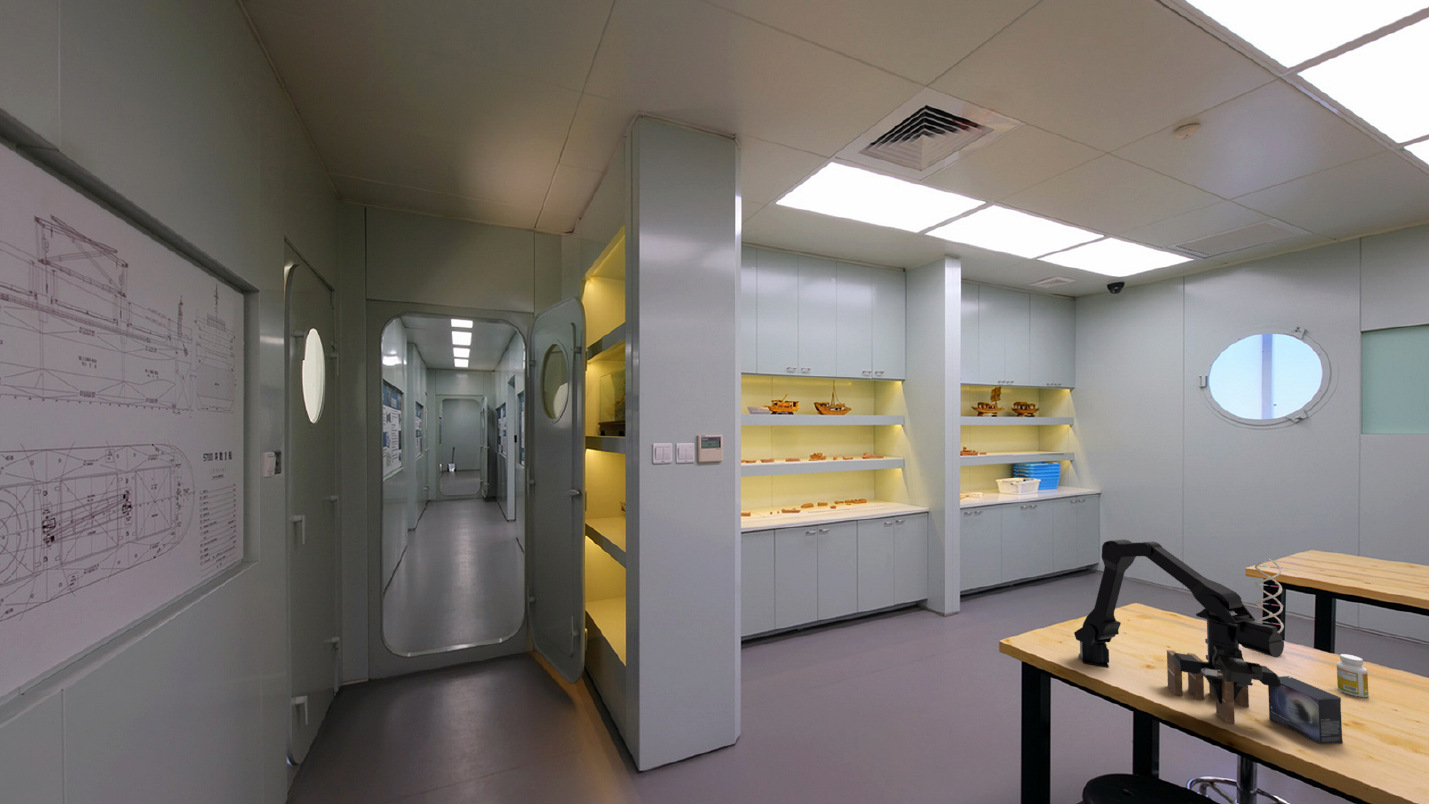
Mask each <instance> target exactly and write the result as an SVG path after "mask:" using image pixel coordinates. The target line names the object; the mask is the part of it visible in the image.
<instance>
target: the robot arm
mask: <svg viewBox="0 0 1429 804" xmlns="http://www.w3.org/2000/svg"><path fill="white" fill-rule="evenodd" d="M1137 557H1146V558H1147V559H1148V560H1150V561H1151V562H1153V563H1154V564H1155V565H1156V566H1158V567H1159V568H1160V569H1162V571H1163V570H1164V572H1166V573H1167V574H1168V575H1170V576H1171V577H1172V578H1174V579H1175V580H1176V581H1178V582H1179V583H1180V584H1182V586H1185V587H1186V588H1187V589H1188V590H1189V592H1190V593H1191V594H1192V596H1193V598H1194V599H1195V600H1196V601H1197V602H1198V604H1200V605H1201V606H1202V607H1203V609H1202V610H1201V611H1199V612H1197V613H1195V616H1196V617H1198V618H1202V619H1205V620H1206V638H1205V640H1204V641H1205V644H1206V645H1207V646H1206V647H1207V654H1206V655H1205V660H1207V661H1204V660H1202V661H1198V660H1197V659H1195V658H1194V657H1193V656H1192V655H1187V654H1185V653H1180V652H1179V653H1178V652H1176V653H1175V654H1174V655H1173V656H1172V660H1173V663H1174V664H1175V665H1176V666H1177V667H1178V668H1179V669H1180V671H1182V673H1183V672H1184V673H1187V674H1188V673H1193V674H1198V673H1201V674H1202V675H1203V677H1204V678H1205V679H1206V680H1207V683H1208V685H1209V684H1210V686H1211V688H1212V690H1213V693H1214V695H1215V697H1216V699H1217V701H1218V702H1219V703H1220V704H1222V694H1221V686H1220V683H1221V681H1222V679H1221V678H1220V677H1218V672H1221V673H1222V675H1223V677H1224V679H1226V680H1227V681H1229V682H1233V686H1234V702H1236V701H1235V699H1236V697H1237V695H1238V693H1239V692H1240V690H1241V689H1242V688H1243V687H1245V686H1247V685H1248V687H1249V686H1250V687H1251V686H1253V684H1254V683H1253V682H1252V681H1253V680H1254V681H1259V682H1260V683H1261V684H1262V685H1264V686H1268V685H1269V686H1275V687H1280V679H1279V677H1280V676H1279V675H1278V674H1277V673H1276V672H1274V671H1273V670H1271V669H1270V668H1268V666H1266V665H1261V664H1260V663H1256V662H1250V661H1246V660H1244V657H1243V652H1242V650H1241V648H1240V646H1241V647H1243V648H1244V649H1248V650H1251V651H1252V652H1256V653H1259V654H1263V655H1266V656H1269V657H1272V658H1275V659H1277V658H1279V657H1281V656H1282V654H1283V651H1284V648H1285V641H1284V640H1283V637H1282V635H1281V633H1277V631H1278V627H1277V626H1274V625H1270V624H1265V623H1261V622H1260V623H1257V621H1256V619H1255V618H1254V616H1253V615H1252V614H1251V612H1250V611H1249V610H1248V608H1247V607H1246V606H1245V605H1244V604H1243V600H1242V597H1241V595H1240V594H1238V593H1237V592H1235V591H1234V590H1232V589H1230V588H1228V587H1227V586H1225V585H1224V584H1221V583H1219V582H1217V581H1214V580H1211V579H1208V578H1207V577H1204V576H1203V575H1202V574H1200V573H1199V572H1198V571H1196V570H1195V569H1193V568H1192V567H1191V566H1190V565H1188V564H1187V563H1185V562H1184V561H1182V560H1181V559H1180V558H1178V557H1176V556H1175V555H1174V554H1173V553H1171V552H1170V551H1168V550H1167V549H1166V548H1164V547H1163V546H1162V545H1161V544H1160V543H1158V542H1157V541H1143V542H1132V541H1130V540H1128V539H1114V540H1112V539H1111V540H1108V541H1105V542H1103V544H1102V546H1101V559H1102V562H1103V565H1104V568H1103V572H1102V576H1101V580H1100V584H1099V588H1098V592H1097V597H1096V600H1095V603H1094V607H1093V609H1092V610H1091V611H1090V612H1089V613H1088V614H1087V615H1086V617H1085V619H1084V621H1083V624H1082V627H1081V628H1078V629H1077V630H1075V631H1074V632H1073V634H1074V636H1075V637H1074V638H1075V639H1076V641H1078V642H1079V653H1078V657H1079V658H1080V661H1081V662H1082V663H1083V664H1086V665H1092V666H1100V667H1106V668H1109V667H1110V666H1109V664H1110V650H1109V648H1108V647H1107V643H1111V641H1112V638H1115V636H1116V635H1119V629H1120V627H1121V624H1122V623H1121V622H1120V621H1118V620H1116V617H1115V610H1116V606H1117V603H1118V599H1119V597H1120V596H1119V595H1120V593H1121V587H1122V584H1123V580H1124V576H1125V572H1126V571H1127V569H1128V568H1129V567H1130V566H1131V565H1133V563H1134V561H1135V560H1136V558H1137ZM1233 613H1235V614H1234V615H1233ZM1216 699H1215V700H1216Z"/></svg>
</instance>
